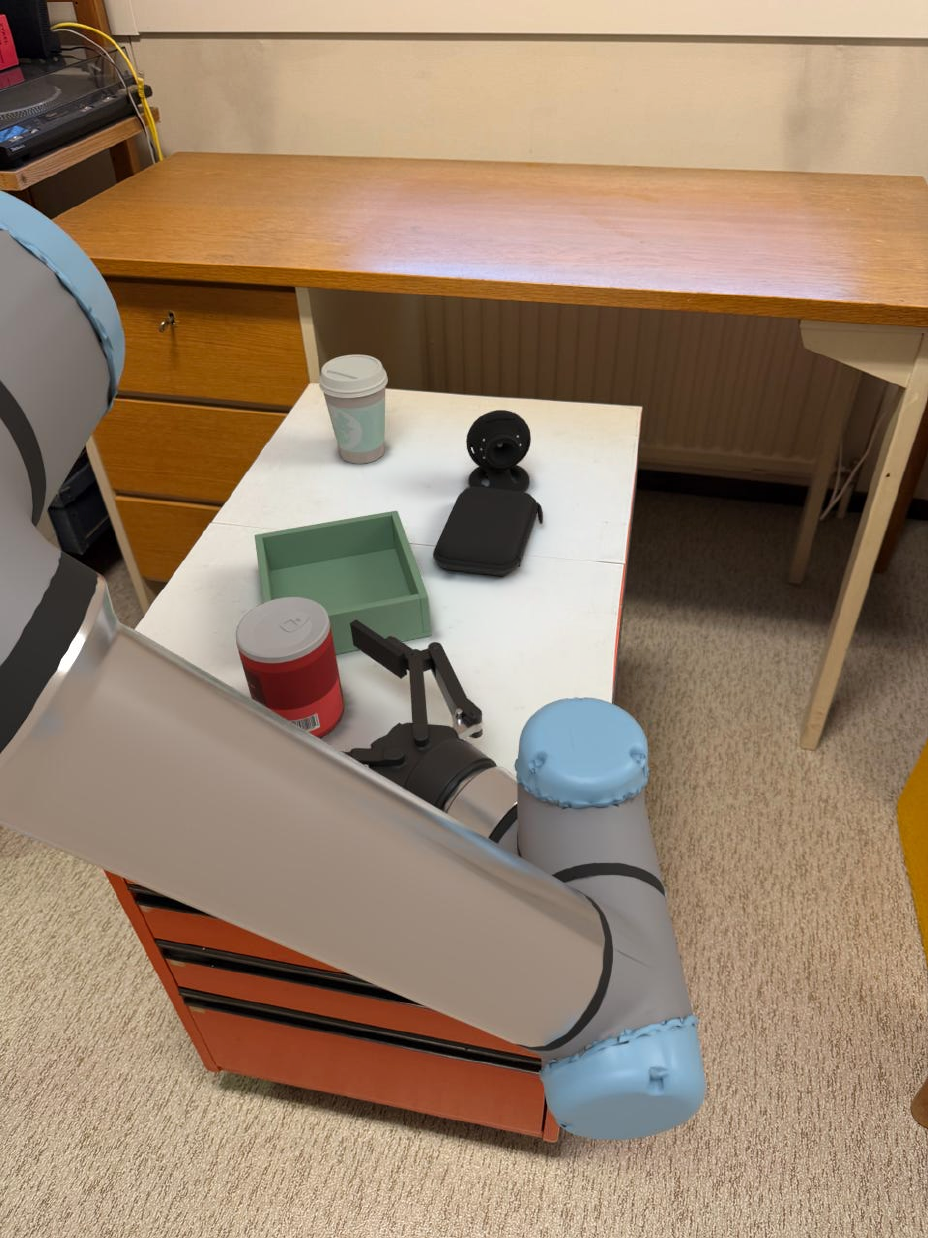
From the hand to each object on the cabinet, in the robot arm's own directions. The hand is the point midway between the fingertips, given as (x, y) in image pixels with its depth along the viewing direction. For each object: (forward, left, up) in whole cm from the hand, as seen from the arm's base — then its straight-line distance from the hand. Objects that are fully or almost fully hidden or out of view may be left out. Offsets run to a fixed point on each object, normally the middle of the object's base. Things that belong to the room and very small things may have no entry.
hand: (294, 670), depth 77 cm
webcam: (+28, +32, -6) cm, 43 cm away
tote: (+6, +15, -6) cm, 17 cm away
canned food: (0, 0, -6) cm, 6 cm away
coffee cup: (+13, +45, -6) cm, 47 cm away
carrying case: (+24, +21, -6) cm, 33 cm away
